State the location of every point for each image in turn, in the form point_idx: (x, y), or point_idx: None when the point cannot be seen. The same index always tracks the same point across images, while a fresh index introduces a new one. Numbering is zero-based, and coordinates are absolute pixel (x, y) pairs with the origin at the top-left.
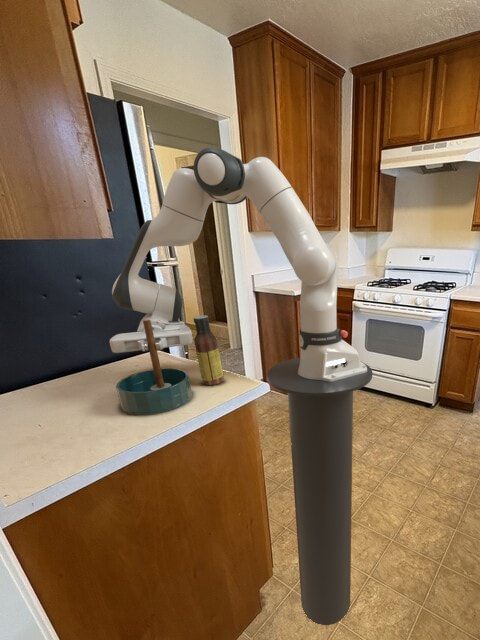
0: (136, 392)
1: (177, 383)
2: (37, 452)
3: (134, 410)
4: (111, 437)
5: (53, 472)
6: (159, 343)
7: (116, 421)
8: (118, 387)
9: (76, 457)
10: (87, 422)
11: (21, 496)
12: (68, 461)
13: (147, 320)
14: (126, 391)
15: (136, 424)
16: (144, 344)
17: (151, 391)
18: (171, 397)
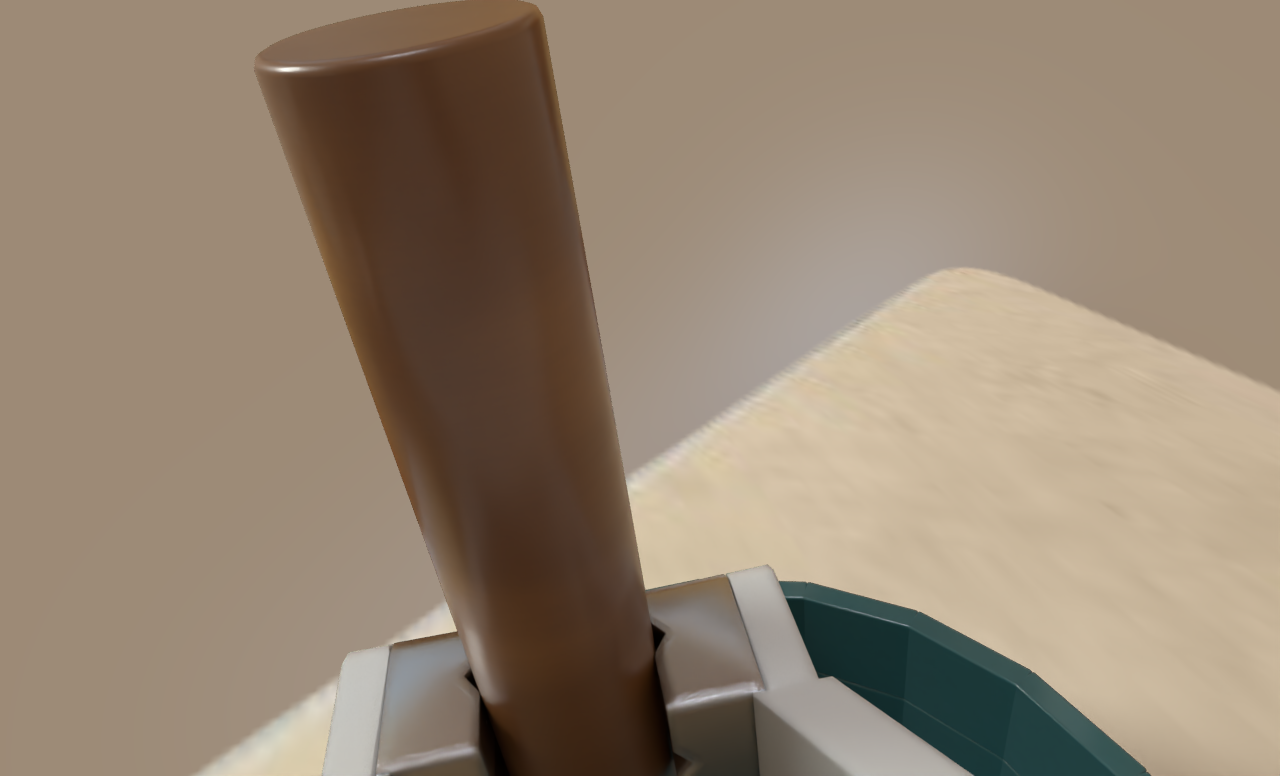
0: (788, 587)
1: None
2: (1177, 421)
3: None
4: (859, 495)
5: (947, 333)
6: (388, 646)
7: None
8: (1085, 735)
9: (927, 388)
10: (1205, 677)
11: (954, 272)
12: (942, 372)
13: (368, 24)
14: (906, 620)
15: None
16: (708, 581)
17: (652, 589)
18: None
